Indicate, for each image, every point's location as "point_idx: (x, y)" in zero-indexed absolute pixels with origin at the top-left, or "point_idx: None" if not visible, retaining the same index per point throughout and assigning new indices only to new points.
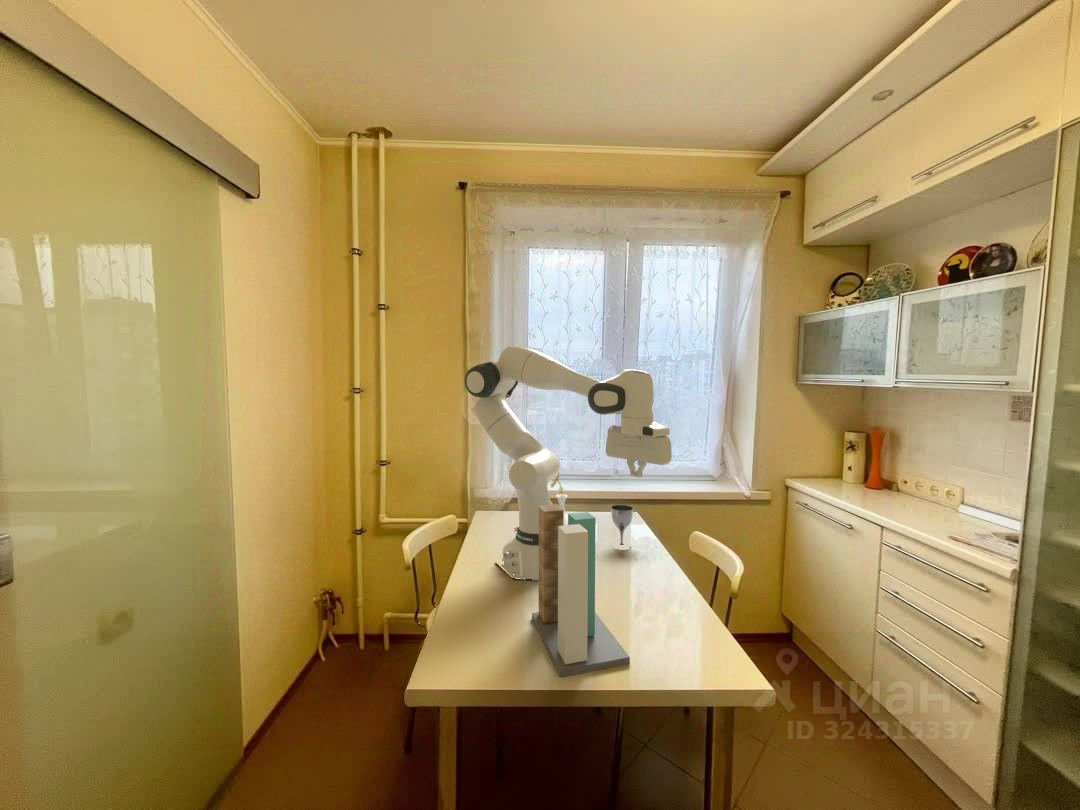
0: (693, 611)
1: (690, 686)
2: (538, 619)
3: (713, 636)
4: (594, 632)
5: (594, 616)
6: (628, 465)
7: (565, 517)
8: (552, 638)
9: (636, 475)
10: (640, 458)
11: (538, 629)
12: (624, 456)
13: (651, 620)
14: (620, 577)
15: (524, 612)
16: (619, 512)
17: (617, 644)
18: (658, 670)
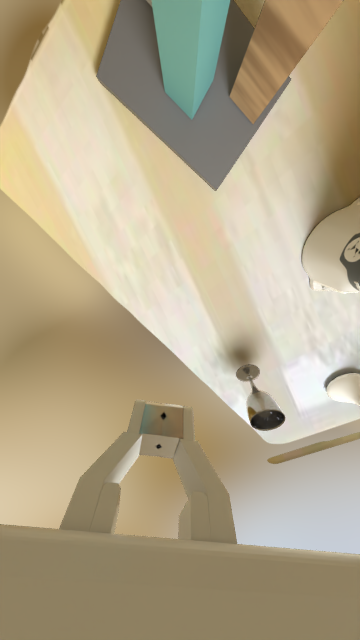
0: (112, 279)
1: (21, 97)
2: None
3: (69, 240)
4: (164, 88)
5: (161, 68)
6: (211, 473)
7: (348, 394)
8: None
9: (149, 405)
10: (16, 593)
11: None
12: (269, 596)
13: (137, 225)
14: (217, 304)
15: (307, 97)
16: (265, 407)
17: (128, 100)
18: (66, 101)
